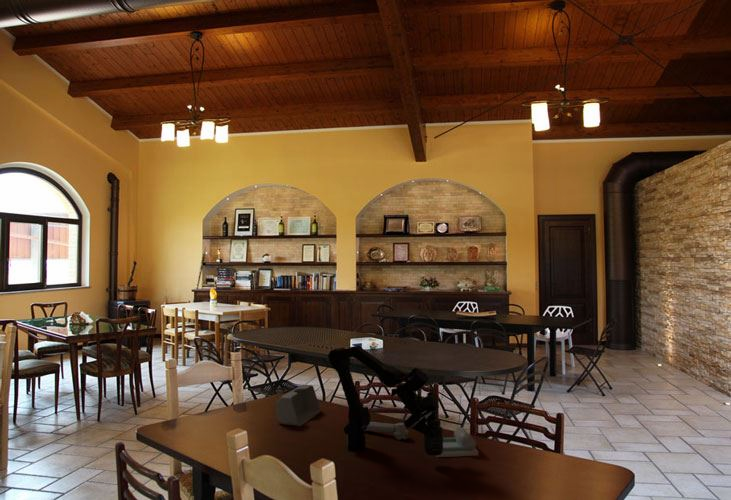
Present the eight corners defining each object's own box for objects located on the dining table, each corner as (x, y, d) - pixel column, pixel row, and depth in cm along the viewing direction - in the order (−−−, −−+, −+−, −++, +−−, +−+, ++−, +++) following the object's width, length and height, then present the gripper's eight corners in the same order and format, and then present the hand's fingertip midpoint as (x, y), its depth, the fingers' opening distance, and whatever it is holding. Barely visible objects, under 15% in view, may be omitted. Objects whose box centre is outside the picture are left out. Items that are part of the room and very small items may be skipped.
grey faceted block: (291, 408, 255) (291, 382, 255) (321, 411, 250) (321, 385, 250) (266, 423, 231) (266, 395, 231) (299, 427, 226) (299, 398, 226)
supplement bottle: (422, 449, 188) (422, 416, 188) (440, 448, 188) (440, 415, 188) (425, 456, 181) (426, 422, 181) (445, 456, 181) (445, 421, 182)
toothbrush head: (357, 418, 226) (409, 420, 213) (359, 434, 225) (411, 436, 213) (351, 422, 221) (403, 423, 209) (353, 438, 221) (405, 440, 208)
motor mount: (436, 457, 192) (436, 439, 192) (427, 443, 206) (427, 427, 206) (478, 455, 194) (478, 437, 194) (466, 442, 208) (466, 426, 208)
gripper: (412, 391, 179) (441, 428, 173) (434, 380, 195) (461, 414, 189) (392, 410, 183) (420, 447, 177) (415, 398, 199) (441, 432, 193)
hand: (437, 434), depth 184 cm, fingers closed on supplement bottle, 7 cm apart
